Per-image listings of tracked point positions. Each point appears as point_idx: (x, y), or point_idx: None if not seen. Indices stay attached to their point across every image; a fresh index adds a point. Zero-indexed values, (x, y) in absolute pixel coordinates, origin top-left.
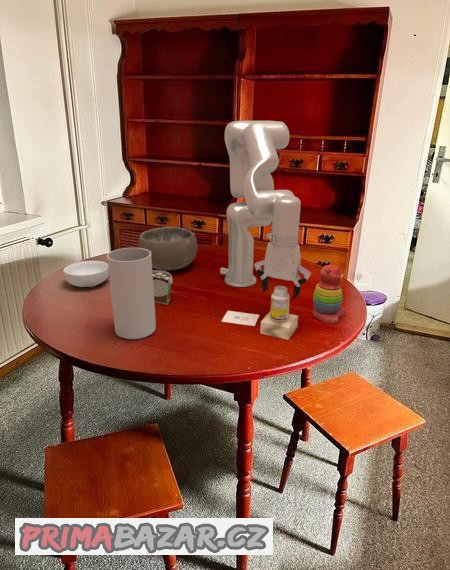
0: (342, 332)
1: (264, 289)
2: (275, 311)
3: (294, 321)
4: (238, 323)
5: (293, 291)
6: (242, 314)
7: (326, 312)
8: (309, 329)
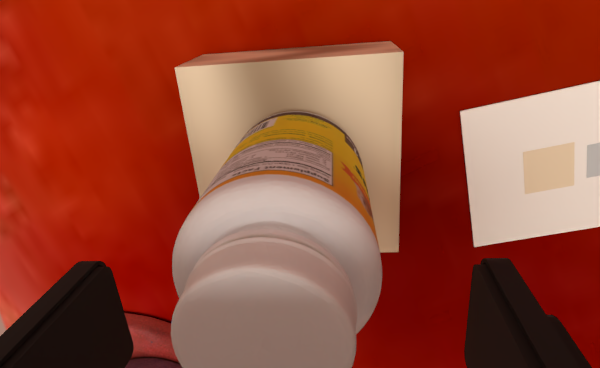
0: (28, 262)
1: (493, 281)
2: (298, 132)
3: (199, 185)
4: (576, 88)
5: (53, 321)
6: (580, 208)
7: (128, 364)
8: (165, 221)
